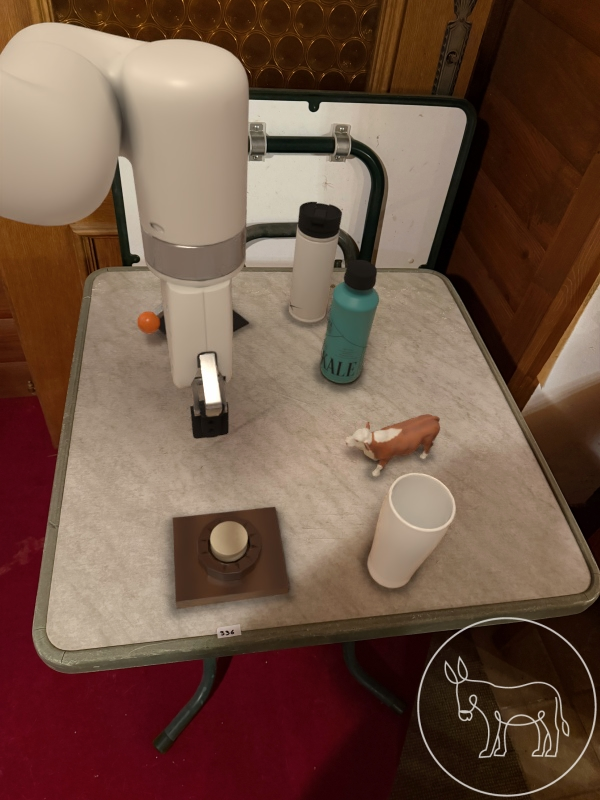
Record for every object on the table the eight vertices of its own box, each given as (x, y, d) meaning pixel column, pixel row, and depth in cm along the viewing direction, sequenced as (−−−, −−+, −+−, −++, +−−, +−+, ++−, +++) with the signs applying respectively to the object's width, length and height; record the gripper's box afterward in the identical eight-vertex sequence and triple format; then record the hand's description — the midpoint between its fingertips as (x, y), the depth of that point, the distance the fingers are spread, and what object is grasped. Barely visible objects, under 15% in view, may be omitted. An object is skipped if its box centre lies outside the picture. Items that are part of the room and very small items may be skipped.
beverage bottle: (350, 358, 88) (375, 249, 74) (366, 388, 84) (396, 279, 69) (311, 364, 87) (329, 253, 72) (325, 395, 83) (347, 285, 68)
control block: (177, 610, 60) (174, 595, 57) (173, 526, 66) (171, 509, 63) (287, 595, 62) (290, 579, 59) (274, 515, 68) (276, 498, 65)
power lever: (152, 341, 81) (141, 330, 79) (139, 329, 83) (129, 318, 80) (215, 280, 83) (207, 267, 80) (201, 270, 85) (193, 256, 82)
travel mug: (284, 325, 92) (295, 214, 77) (291, 300, 96) (303, 192, 82) (321, 332, 92) (340, 222, 77) (327, 307, 96) (345, 199, 81)
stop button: (212, 564, 60) (211, 557, 58) (209, 530, 62) (208, 523, 61) (249, 559, 60) (249, 552, 59) (245, 526, 63) (245, 519, 62)
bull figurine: (335, 461, 75) (344, 422, 69) (421, 438, 79) (437, 399, 73) (348, 487, 72) (359, 450, 66) (437, 462, 76) (455, 424, 70)
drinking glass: (350, 552, 66) (375, 482, 55) (399, 534, 68) (433, 463, 57) (377, 605, 62) (410, 541, 51) (428, 584, 64) (470, 518, 53)
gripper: (136, 183, 46) (157, 338, 59) (150, 320, 35) (172, 474, 48) (227, 180, 47) (228, 332, 60) (268, 311, 37) (259, 462, 49)
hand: (204, 395), depth 54 cm, fingers open, 9 cm apart
